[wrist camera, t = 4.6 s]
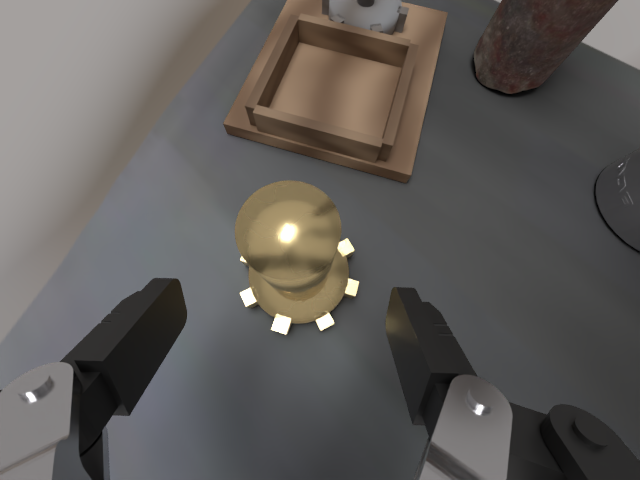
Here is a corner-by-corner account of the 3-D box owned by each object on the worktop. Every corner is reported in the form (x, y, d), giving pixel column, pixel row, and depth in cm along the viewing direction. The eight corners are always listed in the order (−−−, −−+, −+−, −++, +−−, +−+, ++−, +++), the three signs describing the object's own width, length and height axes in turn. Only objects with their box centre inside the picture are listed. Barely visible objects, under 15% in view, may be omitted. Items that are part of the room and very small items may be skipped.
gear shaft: (367, 240, 20) (414, 166, 11) (338, 350, 18) (367, 377, 8) (267, 211, 21) (230, 116, 12) (226, 313, 19) (135, 300, 9)
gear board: (442, 25, 28) (467, -33, 24) (405, 183, 22) (430, 146, 18) (299, -9, 29) (297, -71, 25) (227, 133, 23) (206, 86, 19)
